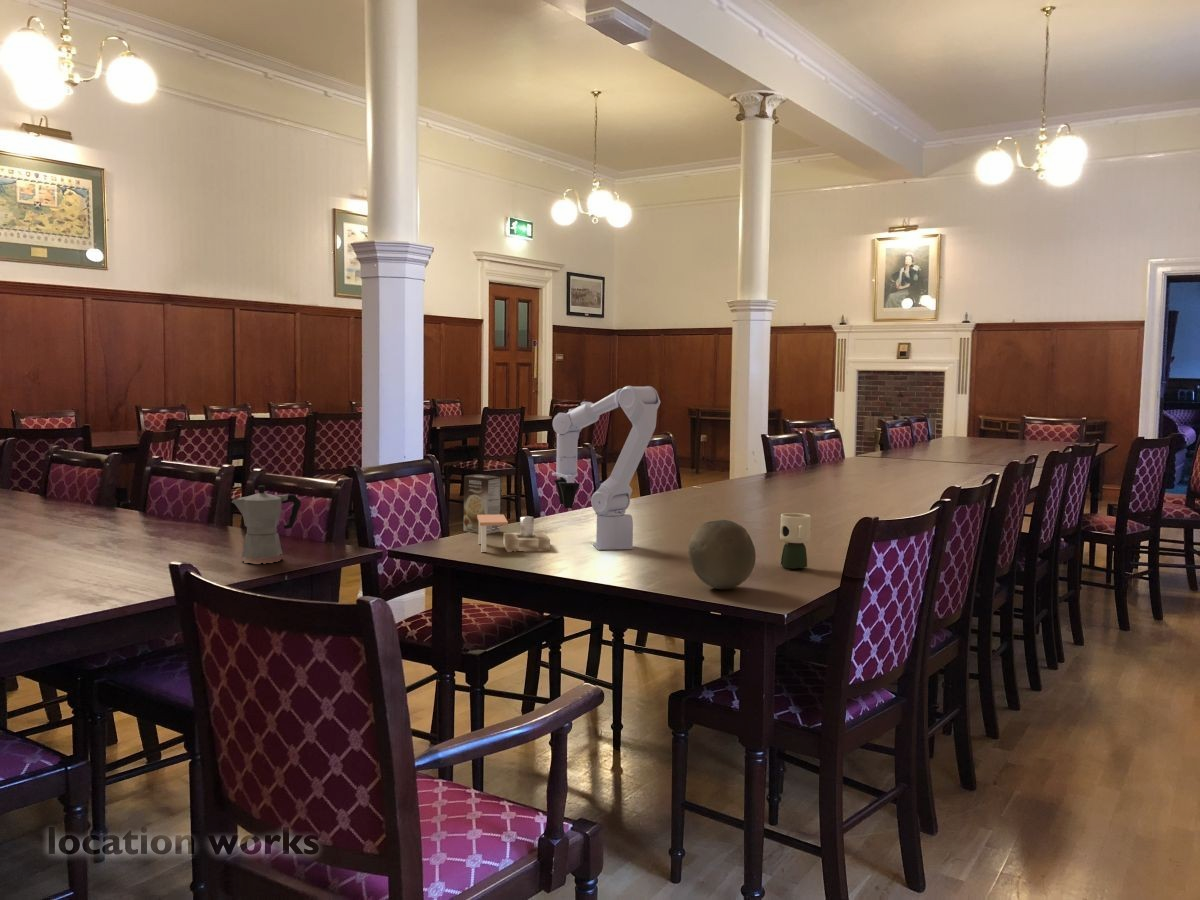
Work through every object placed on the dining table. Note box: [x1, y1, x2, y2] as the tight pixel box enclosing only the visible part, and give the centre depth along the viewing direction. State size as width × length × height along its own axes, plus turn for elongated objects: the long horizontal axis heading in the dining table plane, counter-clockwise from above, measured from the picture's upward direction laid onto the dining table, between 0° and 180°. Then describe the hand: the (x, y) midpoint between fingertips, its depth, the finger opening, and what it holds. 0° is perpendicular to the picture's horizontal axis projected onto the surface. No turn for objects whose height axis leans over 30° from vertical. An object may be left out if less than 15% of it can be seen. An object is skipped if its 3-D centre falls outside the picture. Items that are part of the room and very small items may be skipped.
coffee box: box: [462, 473, 502, 535], centre depth 262 cm, size 9×6×16 cm
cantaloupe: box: [688, 519, 757, 590], centre depth 195 cm, size 14×14×15 cm
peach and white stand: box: [477, 513, 509, 553], centre depth 237 cm, size 7×13×8 cm, turn 11°
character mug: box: [779, 512, 812, 570], centre depth 219 cm, size 11×7×13 cm, turn 3°
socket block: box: [503, 531, 551, 553], centre depth 239 cm, size 11×11×3 cm
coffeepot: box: [231, 484, 302, 558], centre depth 216 cm, size 15×9×18 cm, turn 115°
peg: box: [519, 515, 535, 538], centre depth 239 cm, size 4×4×8 cm
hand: (566, 506), depth 250 cm, fingers open, 7 cm apart
